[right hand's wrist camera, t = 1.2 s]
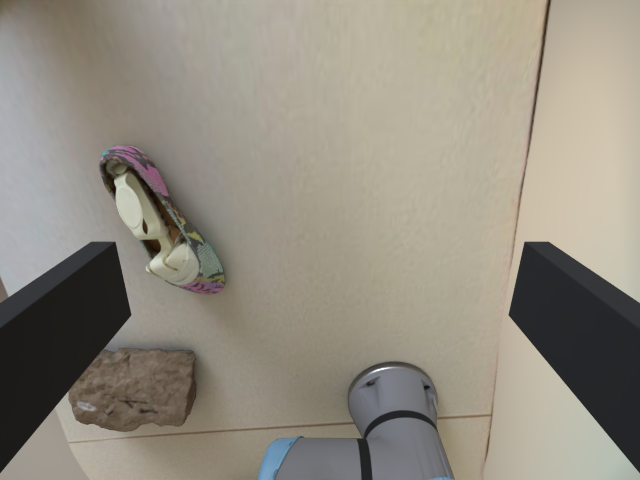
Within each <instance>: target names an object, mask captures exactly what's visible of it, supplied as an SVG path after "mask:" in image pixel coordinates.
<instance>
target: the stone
mask: <svg viewBox="0 0 640 480" xmlns="http://www.w3.org/2000/svg"><path fill="white" fill-rule="evenodd" d="M195 360H196V356H195V354H194V352H193V351H183V350H181V351H170V352H169V351H164V350H161V349H150V350H140V349H129V348H120V349H119V350H118V351H117V352H116V353H113V352H110V351H107V350H104V349H103V350H102V351H101V352H100V354H99V355H98V356H97V357H96V358H95V360H94V361H93V362H92V363H91V364H90V366H89V367H88V368H87V369H86V370H85V372H84V373H83V374H82V375H81V376H80V378H79V379H78V380H77V381H76V382H75V384H74V385H73V386H72V387H71V388H70V390H69V402H70V404H71V405H72V411H73V414H74V416H75V419H76V420H77V421H79V422H80V423H83V424H87V425H88V424H95V425H98V426H100V427H101V428H105V429H109V430H115V431H122V432H127V431H133V430H135V429H137V428H138V427H139V426H140V425H142V424H148V423H151V422H153V423H155V424H158V425H159V426H164V425H173V426H178V427H179V426H181V425H183V424H184V423H185V420H186V418H187V416H188V415H190V412H191V409H192V405H193V402H194V400H195V397H196V384H195V382H194V361H195Z"/></svg>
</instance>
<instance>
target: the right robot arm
mask: <svg viewBox="0 0 640 480" xmlns="http://www.w3.org/2000/svg"><path fill="white" fill-rule="evenodd" d="M130 316H131V311H130V307H129V302H128V297H127V293H126V288H125V284H124V279H123V274H122V270H121V265H120V261H119V256H118V252H117V247H116V242H90V243H89V244H87V245H86V246H84V247H83V248H81V249H80V250H78V251H77V252H76V253H74V254H73V255H71V256H70V257H68V258H67V259H65V260H64V261H62V262H61V263H59V264H58V265H56V266H55V267H53V268H52V269H50V270H49V271H47V272H46V273H44V274H43V275H41V276H40V277H38V278H37V279H35V280H34V281H32V282H31V283H29V284H28V285H26V286H25V287H24V288H22V289H21V290H19V291H18V292H16V293H15V294H13V295H12V296H10V297H9V298H7V299H6V300H4V301H3V302H1V303H0V473H1V472H2V470H3V469H4V468H5V467H6V466H7V464H8V463H9V462H10V461H11V460H12V458H13V457H14V456H15V455H16V453H17V452H18V451H19V450H20V449H21V447H22V446H23V445H24V444H25V443H26V441H27V440H28V439H29V438H30V437H31V435H32V434H33V433H34V432H35V431H36V429H37V428H38V427H39V426H40V425H41V423H42V422H43V421H44V420H45V419H46V417H47V416H48V415H49V414H50V413H51V411H52V410H53V409H54V408H55V407H56V405H57V404H58V403H59V402H60V400H61V399H62V398H63V397H64V396H65V394H66V393H67V392H68V391H69V390H70V388H71V387H72V386H73V385H74V384H75V382H76V381H77V380H78V379H79V378H80V376H81V375H82V374H83V373H84V372H85V370H86V369H87V368H88V367H89V366H90V364H91V363H92V362H93V361H94V360H95V358H96V357H97V356H98V355H99V354H100V352H101V351H102V350H103V349H104V348H105V346H106V345H107V344H108V343H109V341H110V340H111V339H112V338H113V337H114V335H115V334H116V333H117V332H118V331H119V329H120V328H121V327H122V326H123V325H124V323H125V322H126V321H127V320H128V319H129V317H130ZM509 316H510V317H511V319H512V320H513V321H514V322H515V323H516V325H517V326H518V327H519V328H520V329H521V331H522V332H523V333H524V334H525V335H526V337H527V338H528V339H529V340H530V341H531V343H532V344H533V345H534V346H535V348H536V349H537V350H538V351H539V352H540V354H541V355H542V356H543V357H544V358H545V360H546V361H547V362H548V363H549V364H550V366H551V367H552V368H553V369H554V370H555V372H556V373H557V374H558V375H559V376H560V378H561V379H562V380H563V381H564V382H565V384H566V385H567V386H568V387H569V388H570V390H571V391H572V392H573V393H574V394H575V396H576V397H577V398H578V399H579V400H580V402H581V403H582V404H583V405H584V407H585V408H586V409H587V410H588V411H589V413H590V414H591V415H592V416H593V417H594V419H595V420H596V421H597V422H598V423H599V425H600V426H601V427H602V428H603V429H604V431H605V432H606V433H607V434H608V435H609V437H610V438H611V439H612V440H613V441H614V443H615V444H616V445H617V446H618V447H619V449H620V450H621V451H622V452H623V453H624V455H625V456H626V457H627V458H628V459H629V461H630V462H631V463H632V464H633V466H634V467H635V468H636V469H637V470H638V471H639V473H640V303H639V302H637V301H636V300H634V299H633V298H631V297H630V296H628V295H627V294H625V293H624V292H622V291H621V290H619V289H618V288H616V287H615V286H614V285H612V284H611V283H609V282H608V281H606V280H605V279H603V278H602V277H600V276H599V275H597V274H596V273H594V272H593V271H591V270H590V269H588V268H587V267H585V266H584V265H582V264H581V263H579V262H578V261H576V260H575V259H573V258H572V257H570V256H569V255H567V254H566V253H564V252H563V251H562V250H560V249H559V248H557V247H556V246H554V245H553V244H551V243H550V242H525V243H524V247H523V252H522V256H521V261H520V265H519V270H518V275H517V279H516V284H515V288H514V293H513V298H512V302H511V307H510V311H509ZM348 405H349V411H350V414H351V417H352V419H353V421H354V423H355V425H356V427H357V428H358V430H359V432H360V434H361V436H362V438H363V439H357V438H304V437H303V436H299V437H295V438H280V439H277V440H275V441H274V442H272V443H271V444H270V445H269V447H268V448H267V450H266V452H265V455H264V458H263V460H262V464H261V467H260V471H259V475H258V479H257V480H455V479H454V476H453V473H452V470H451V467H450V465H449V462H448V459H447V456H446V453H445V450H444V447H443V444H442V442H441V439H440V436H439V433H438V430H437V427H436V425H437V415H438V418H439V409H438V406H437V393H436V390H435V388H434V385H433V383H432V380H431V379H430V377H429V376H428V375H427V374H426V373H425V372H424V371H423V370H421V369H420V368H418V367H416V366H414V365H411V364H407V363H402V362H387V363H381V364H378V365H375V366H372V367H370V368H368V369H366V370H365V371H363V372H362V373H361V374H359V375H358V376H357V377H356V378H355V380H354V381H353V382H352V384H351V386H350V389H349V392H348Z"/></svg>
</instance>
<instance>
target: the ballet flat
mask: <svg viewBox="0 0 640 480" xmlns="http://www.w3.org/2000/svg"><path fill="white" fill-rule="evenodd" d="M99 170H100V174H101V176H102V179H103V182H104V185H105V187H106V189H107V190H108V192H109V193H110V194H111V196H112V197H113V199H114V200H115V202H116V205H117V209H118V212H119V214H120V217H121V218H122V220H123V221H124V223H125V224H126V225H127V226H128V227H129V228H130V229H131V231H132V232H133V234H134V236H135V237H136V238H137V239H139V240H140V242H141V243H142V245H143V247H144V249H145V251H146V252H147V254H148V256H149V258H150V259H151V261H150V262H149V264H148V265H147V266H146V271H147V272H149V273H150V274H153V275H155V276H157V277H159V278H161V279H164V280H165V281H166V282H168V283H170V284H171V285H174V286H178V287H180V288H183V289H186V290H189V291H192V292H196V293H200V294H215V293H218V292H219V291H221V290H222V288H223V287H224V284H225V277H224V272H223V268H222V265H221V263H220V261H219V258H218V256H217V255H216V253H215V252H214V250H213V249H212V248H211V246H210V245H209V244H208V243H207V241H206V240H205V239H204V238H203V237H202V235H201V234H200V233H199V232H198V230H197V229H196V228H195V227H194V226H193V225H192V224H191V223H190V222H189V221H188V220H187V219H186V218H185V217H184V216H183V214H182V213H181V212H180V211H179V210H178V208H177V207H176V205H175V204H174V202H173V201H172V200H171V198H170V196H169V194H168V191H167V188H166V186H165V184H164V182H163V179H162V178H161V176H160V174H159V172H158V170H157V169H156V167H155V165H154V164H153V162H152V161H151V160H150V158H149V157H148V156H147V155H146V154H145V153H144V152H143V151H142V150H140V149H139V148H137V147H134V146H130V145H115V146H112V147H110V148H109V149H107V150H106V151H105V152H104V153H103V154H102V156H101V159H100V162H99Z"/></svg>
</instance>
